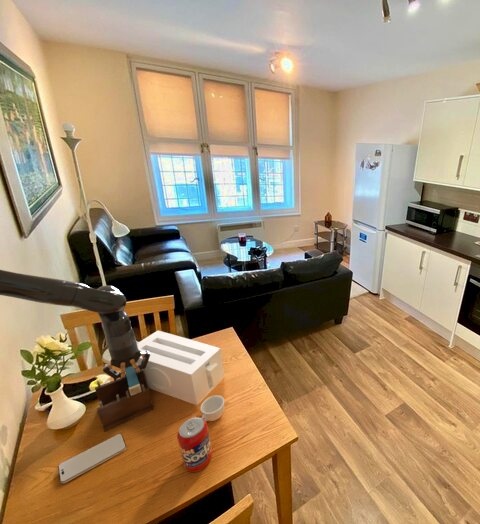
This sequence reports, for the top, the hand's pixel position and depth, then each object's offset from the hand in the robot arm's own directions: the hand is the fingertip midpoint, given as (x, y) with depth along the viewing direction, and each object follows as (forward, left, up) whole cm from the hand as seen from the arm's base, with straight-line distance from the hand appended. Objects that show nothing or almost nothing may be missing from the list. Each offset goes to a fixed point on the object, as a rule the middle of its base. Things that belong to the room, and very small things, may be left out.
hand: (133, 381), depth 103 cm
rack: (-4, 0, -10) cm, 11 cm away
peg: (0, 0, 0) cm, 0 cm away
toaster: (+14, +2, -11) cm, 18 cm away
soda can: (+10, -36, -10) cm, 39 cm away
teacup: (+18, -23, -10) cm, 31 cm away
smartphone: (-13, -16, -10) cm, 23 cm away
